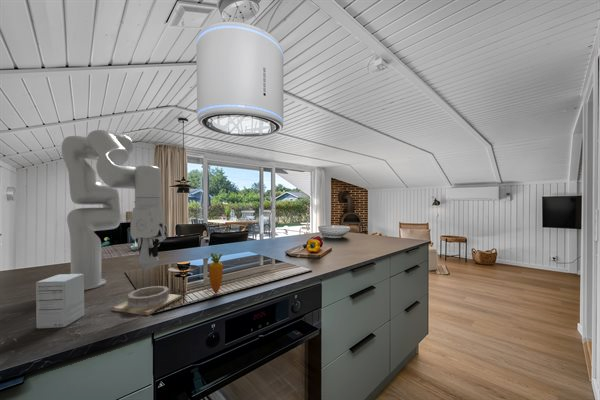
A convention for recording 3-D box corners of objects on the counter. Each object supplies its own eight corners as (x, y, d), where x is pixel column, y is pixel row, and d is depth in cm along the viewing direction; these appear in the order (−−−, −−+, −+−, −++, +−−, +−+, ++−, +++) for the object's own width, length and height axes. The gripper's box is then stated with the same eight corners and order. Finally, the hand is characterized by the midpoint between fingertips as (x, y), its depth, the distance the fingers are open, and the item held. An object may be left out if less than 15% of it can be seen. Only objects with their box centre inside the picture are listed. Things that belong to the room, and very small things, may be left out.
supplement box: (58, 316, 75) (58, 273, 76) (85, 315, 76) (85, 273, 76) (34, 329, 68) (34, 281, 68) (64, 327, 69) (64, 280, 69)
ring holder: (112, 310, 79) (112, 297, 79) (149, 294, 93) (149, 283, 93) (147, 315, 76) (147, 301, 76) (181, 298, 89) (181, 286, 89)
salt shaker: (149, 270, 81) (148, 229, 81) (133, 270, 82) (133, 229, 82) (162, 266, 87) (162, 227, 87) (148, 265, 88) (147, 227, 88)
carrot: (225, 291, 95) (225, 251, 95) (217, 296, 90) (217, 254, 90) (214, 290, 96) (214, 250, 97) (205, 295, 92) (205, 253, 92)
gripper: (118, 203, 83) (118, 260, 83) (159, 203, 79) (159, 262, 78) (138, 203, 90) (139, 255, 90) (177, 203, 86) (177, 257, 86)
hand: (148, 258), depth 84 cm, fingers closed on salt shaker, 3 cm apart
